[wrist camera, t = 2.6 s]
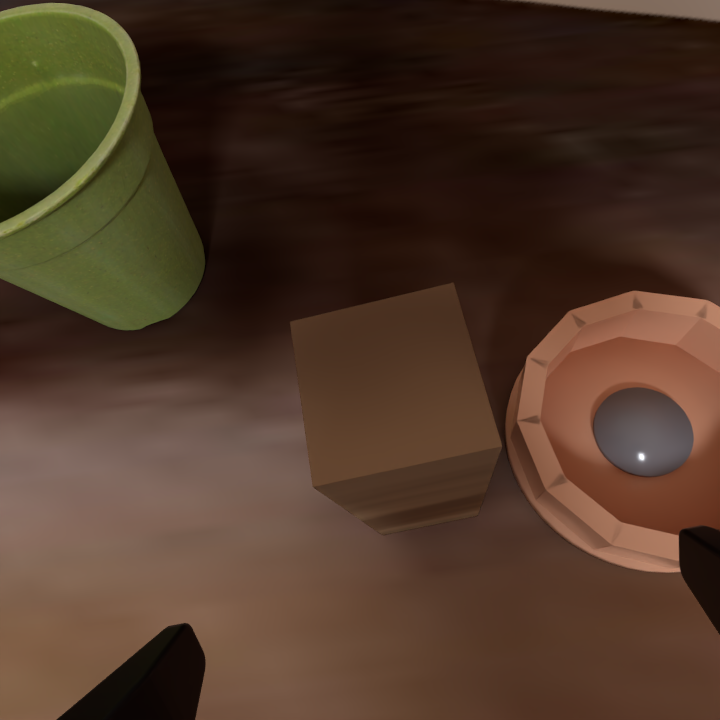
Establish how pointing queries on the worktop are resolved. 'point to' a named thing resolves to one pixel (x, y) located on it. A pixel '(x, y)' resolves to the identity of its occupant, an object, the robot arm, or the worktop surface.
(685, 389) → the tan shallow dish
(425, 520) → the tall square post
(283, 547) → the worktop surface
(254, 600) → the worktop surface
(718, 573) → the robot arm
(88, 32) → the plant pot
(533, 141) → the worktop surface
